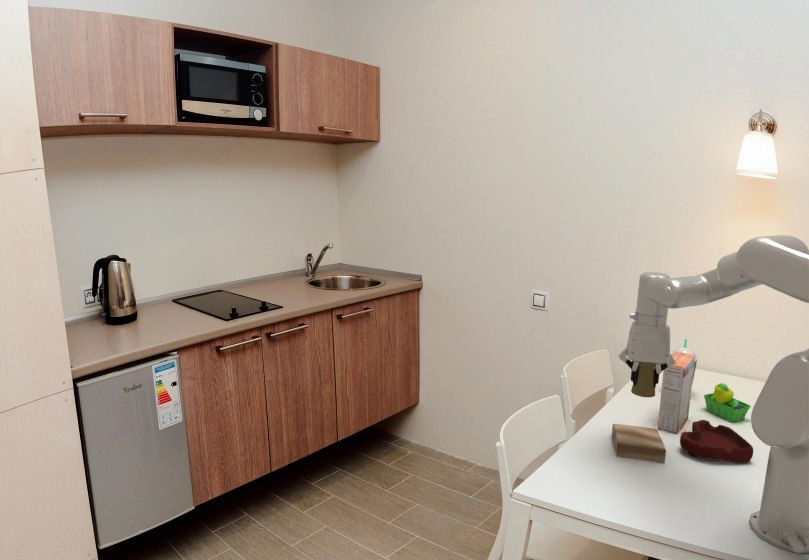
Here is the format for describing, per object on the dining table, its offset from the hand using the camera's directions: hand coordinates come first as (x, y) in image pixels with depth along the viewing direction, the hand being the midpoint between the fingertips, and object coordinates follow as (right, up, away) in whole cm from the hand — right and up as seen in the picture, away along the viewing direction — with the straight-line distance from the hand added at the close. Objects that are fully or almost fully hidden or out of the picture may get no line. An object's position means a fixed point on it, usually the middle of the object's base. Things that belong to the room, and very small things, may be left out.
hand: (644, 384), depth 146 cm
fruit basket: (+37, -15, +26) cm, 47 cm away
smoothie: (+31, -12, +42) cm, 53 cm away
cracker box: (+17, -16, +20) cm, 31 cm away
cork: (0, -3, +1) cm, 3 cm away
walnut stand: (0, -19, +4) cm, 19 cm away
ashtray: (+21, -20, +3) cm, 29 cm away
